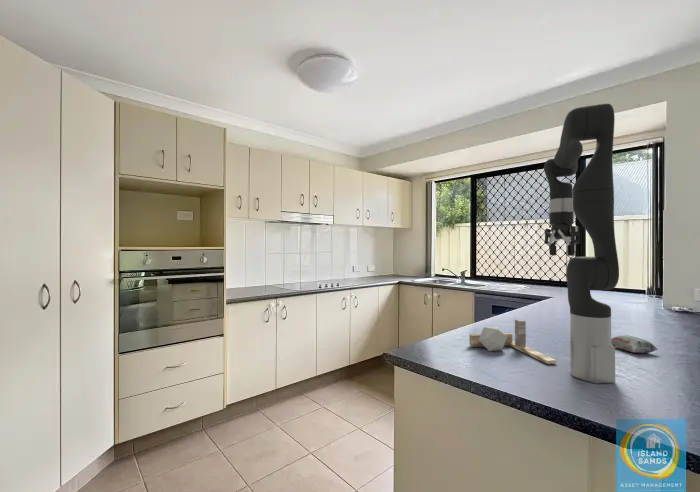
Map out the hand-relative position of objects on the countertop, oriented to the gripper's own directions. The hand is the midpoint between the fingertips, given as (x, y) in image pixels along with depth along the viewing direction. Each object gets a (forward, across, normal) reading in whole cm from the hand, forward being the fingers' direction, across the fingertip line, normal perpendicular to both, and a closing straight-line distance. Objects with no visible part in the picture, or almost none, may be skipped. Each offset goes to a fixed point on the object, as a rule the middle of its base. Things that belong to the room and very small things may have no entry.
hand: (561, 255), depth 121 cm
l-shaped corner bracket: (+33, +7, -26) cm, 42 cm away
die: (+33, +1, -28) cm, 43 cm away
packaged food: (+33, +9, +18) cm, 39 cm away
